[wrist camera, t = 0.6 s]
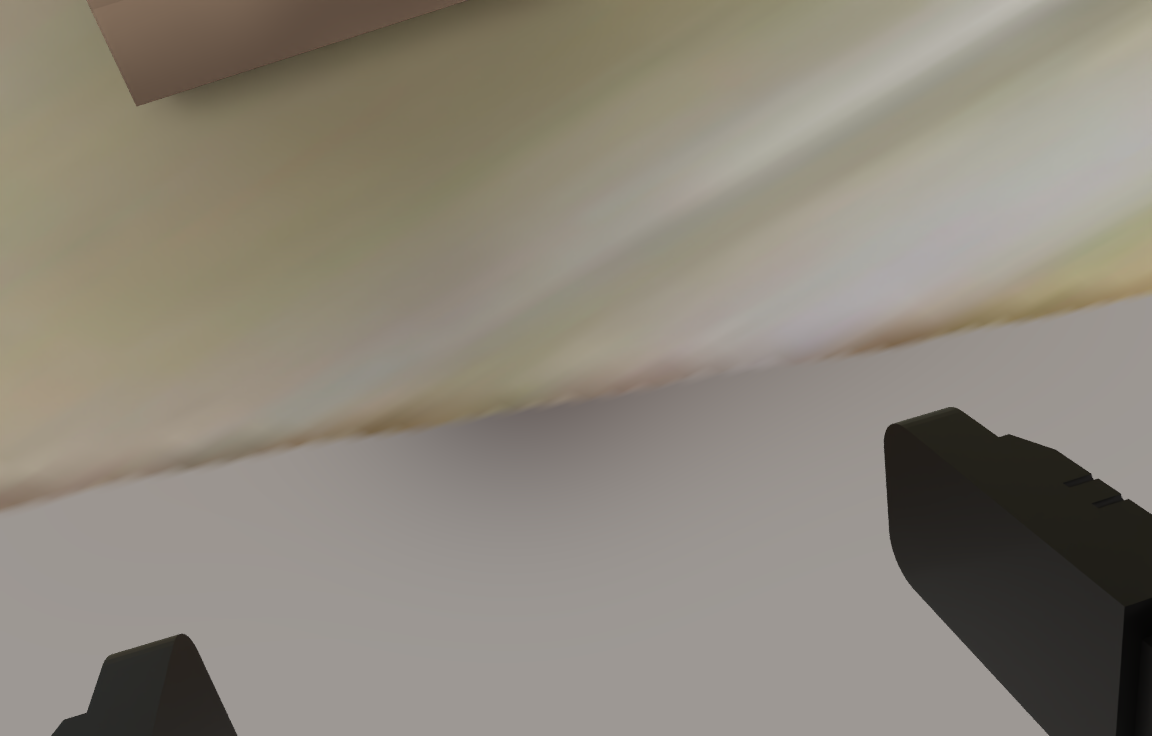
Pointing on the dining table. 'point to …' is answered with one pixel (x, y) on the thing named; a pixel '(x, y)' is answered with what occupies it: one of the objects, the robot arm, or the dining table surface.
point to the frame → (230, 35)
